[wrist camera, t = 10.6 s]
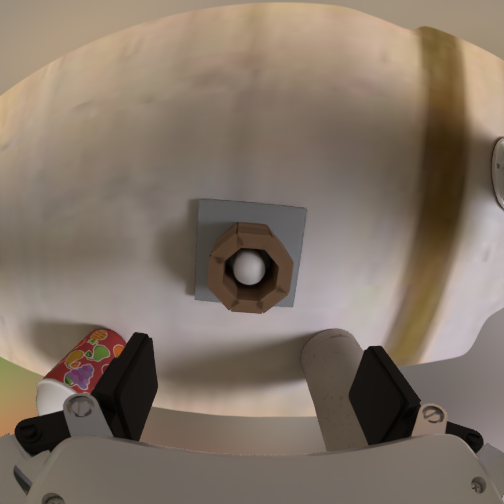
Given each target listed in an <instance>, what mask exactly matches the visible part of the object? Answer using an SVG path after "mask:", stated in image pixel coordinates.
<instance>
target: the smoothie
mask: <svg viewBox="0 0 504 504" xmlns="http://www.w3.org/2000/svg"><path fill="white" fill-rule="evenodd" d="M125 346H126V343H125V341H124V340H123V339H122V337H121V336H119V335H118V334H117V333H116V332H114V331H111V330H108V329H100V330H94V331H92V332H91V333H89V334H88V335H87V336H86V337H85V338H84V339H83V340H82V341H81V342H80V343H79V344H78V345H77V346H75V347H74V348H73V349H72V350H71V351H70V352H69V353H68V354H67V355H66V356H65V357H64V358H63V359H62V360H61V361H60V362H59V363H58V364H57V365H56V366H55V367H54V368H53V369H52V370H51V371H50V372H49V373H48V374H47V375H46V376H45V377H44V378H43V379H42V380H40V381H39V382H38V384H37V396H36V406H37V411H38V415H39V416H41V415H46V414H50V413H54V412H57V411H61V410H63V404H64V401H65V400H66V399H67V398H68V397H69V396H71V395H73V394H76V393H86V394H89V395H90V394H91V392H92V390H93V389H94V387H95V386H96V384H97V382H98V381H99V379H100V378H101V376H102V375H103V373H104V371H105V370H106V368H107V367H108V365H109V364H110V362H111V361H112V359H113V358H115V357H116V358H118V357H119V355H120V354H121V352H122V350H123V349H124V347H125Z"/></svg>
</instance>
